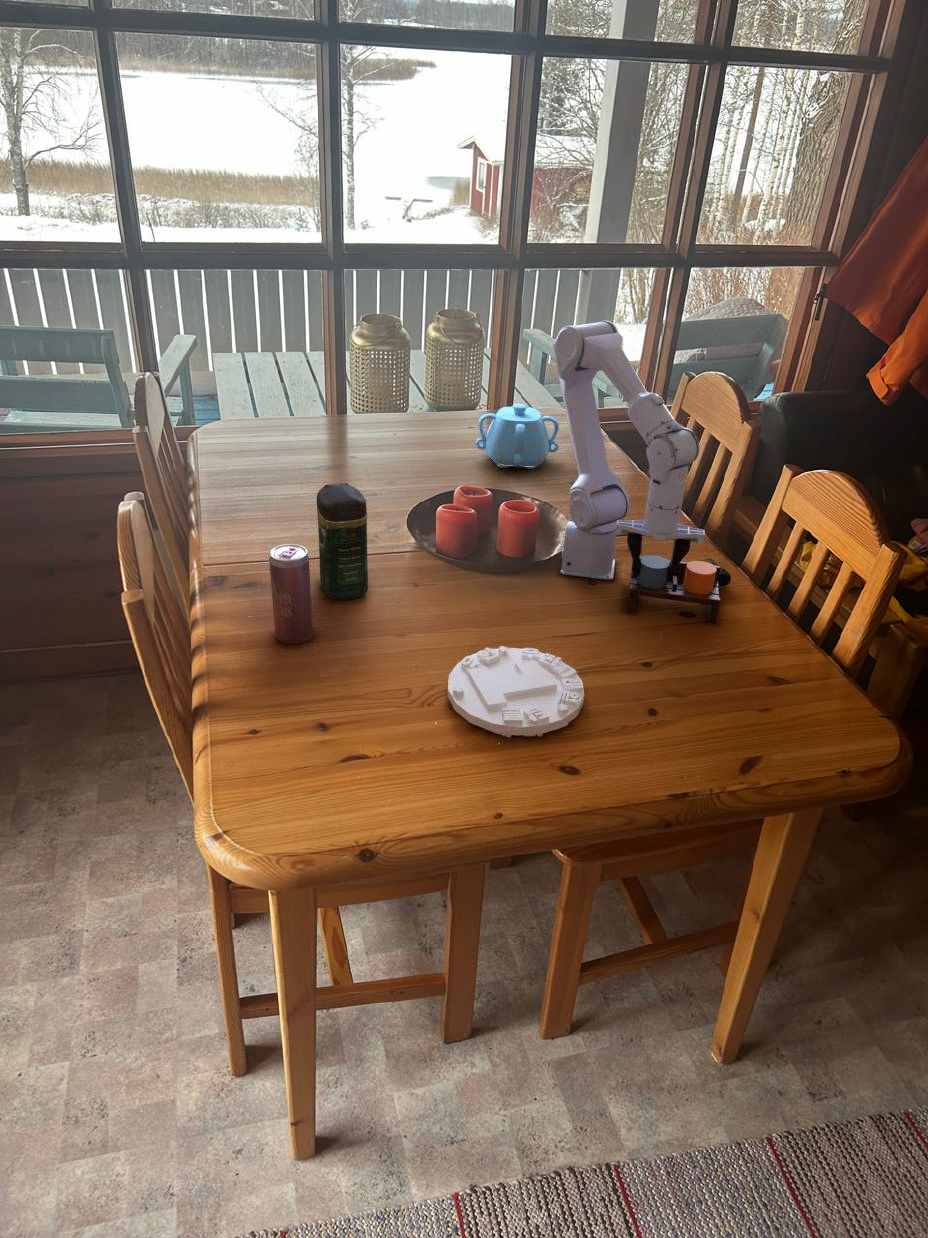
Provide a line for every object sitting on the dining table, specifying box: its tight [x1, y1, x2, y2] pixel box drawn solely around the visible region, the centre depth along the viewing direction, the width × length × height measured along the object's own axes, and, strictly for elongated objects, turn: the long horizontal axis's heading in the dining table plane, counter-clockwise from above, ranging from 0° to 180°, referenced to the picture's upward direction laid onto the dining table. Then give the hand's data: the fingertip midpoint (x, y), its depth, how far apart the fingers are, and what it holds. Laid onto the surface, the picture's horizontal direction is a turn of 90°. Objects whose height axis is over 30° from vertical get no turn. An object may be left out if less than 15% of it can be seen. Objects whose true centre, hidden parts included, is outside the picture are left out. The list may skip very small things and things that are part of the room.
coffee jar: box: [316, 482, 369, 601], centre depth 156 cm, size 10×8×19 cm
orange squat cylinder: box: [683, 560, 717, 595], centre depth 156 cm, size 5×5×4 cm
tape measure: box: [693, 557, 732, 588], centre depth 166 cm, size 7×7×4 cm
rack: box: [626, 555, 721, 624], centre depth 158 cm, size 15×9×6 cm, turn 79°
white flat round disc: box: [447, 645, 585, 739], centre depth 134 cm, size 20×20×3 cm
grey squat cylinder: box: [637, 554, 670, 589], centre depth 157 cm, size 5×5×4 cm
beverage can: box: [268, 543, 314, 645], centre depth 143 cm, size 6×6×15 cm
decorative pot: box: [475, 403, 560, 470], centre depth 213 cm, size 16×16×14 cm
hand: (652, 575), depth 158 cm, fingers closed on grey squat cylinder, 5 cm apart
